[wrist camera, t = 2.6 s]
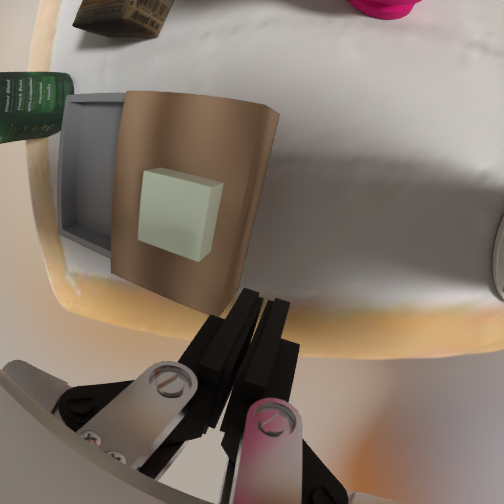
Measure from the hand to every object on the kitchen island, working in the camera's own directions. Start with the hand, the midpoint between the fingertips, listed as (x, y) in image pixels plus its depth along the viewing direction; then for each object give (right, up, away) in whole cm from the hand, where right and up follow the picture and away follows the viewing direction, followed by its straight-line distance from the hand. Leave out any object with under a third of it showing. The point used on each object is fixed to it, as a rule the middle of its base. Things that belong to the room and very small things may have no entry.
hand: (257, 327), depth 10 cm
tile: (-5, +6, +9) cm, 12 cm away
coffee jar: (-25, +21, +15) cm, 36 cm away
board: (-5, +8, +14) cm, 17 cm away
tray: (-16, +11, +16) cm, 25 cm away
